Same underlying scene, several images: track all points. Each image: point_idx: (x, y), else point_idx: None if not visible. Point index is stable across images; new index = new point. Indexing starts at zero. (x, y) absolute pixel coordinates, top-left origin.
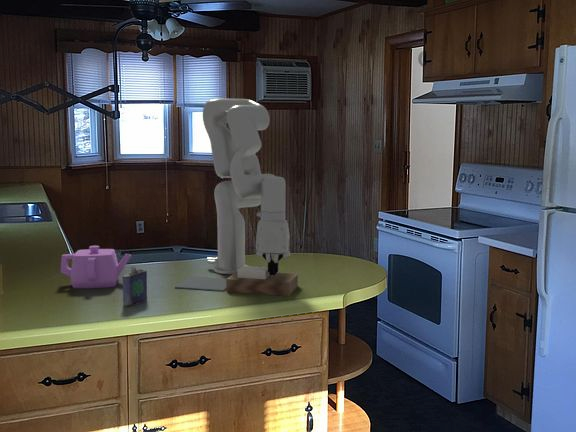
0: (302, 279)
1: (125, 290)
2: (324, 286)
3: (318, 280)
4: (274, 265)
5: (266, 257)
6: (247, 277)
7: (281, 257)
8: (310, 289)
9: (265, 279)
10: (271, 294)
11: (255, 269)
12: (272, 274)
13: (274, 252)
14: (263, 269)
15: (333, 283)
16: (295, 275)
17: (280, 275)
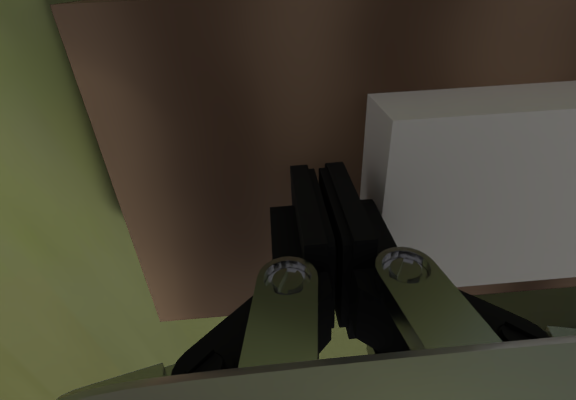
0: None
1: None
2: (29, 296)
3: (126, 368)
4: (301, 231)
5: (460, 303)
6: (556, 84)
7: (198, 353)
8: (65, 221)
9: (363, 85)
10: None
11: (515, 186)
12: (311, 169)
13: (309, 384)
14: (426, 209)
15: (23, 351)
16: (154, 285)
17: (267, 252)
